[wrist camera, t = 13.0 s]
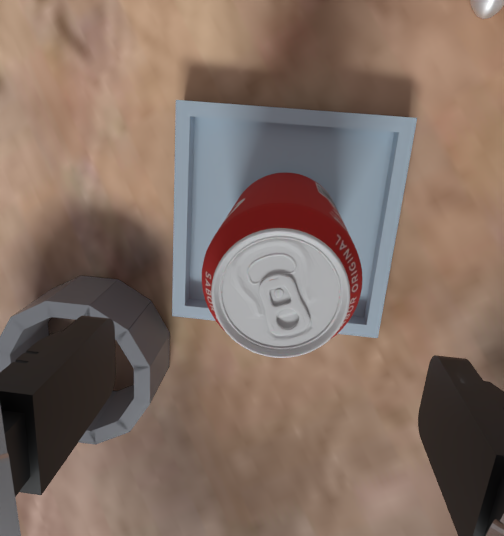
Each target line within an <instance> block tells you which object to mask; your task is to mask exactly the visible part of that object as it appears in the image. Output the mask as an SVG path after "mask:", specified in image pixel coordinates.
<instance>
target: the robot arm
mask: <svg viewBox="0 0 504 536" xmlns="http://www.w3.org/2000/svg"><path fill="white" fill-rule="evenodd" d="M115 376H116V363H115V326H114V322H113V320H112V319H110V318H101V317H92V316H80V317H79V318H78V319H77V320H75V321H74V322H73V323H72V324H71V325H70V326H69V327H67V328H66V329H65V330H64V331H63V332H56V333H54V334H52V335H50V336H47V337H45V338H43V339H40V340H39V341H37V342H36V343H35V344H34V345H33V346H31V347H30V348H29V349H28V350H27V351H26V353H23V354H22V355H21V356H19V357H18V358H17V359H16V361H15V362H12V363H11V364H10V365H8V366H7V367H6V368H5V369H4V370H2V371H1V372H0V536H21V534H20V527H19V520H18V514H17V507H16V500H15V497H16V495H17V494H18V493H19V492H23V493H30V494H37V495H42V493H43V492H44V490H45V489H46V488H47V486H48V485H49V483H50V482H51V480H52V479H53V478H54V476H55V475H56V473H57V472H58V470H59V469H60V468H61V466H62V465H63V463H64V462H65V460H66V459H67V457H68V456H69V455H70V453H71V452H72V450H73V449H74V447H75V446H76V445H77V443H78V442H79V440H80V439H81V437H82V436H83V435H84V433H85V432H86V430H87V429H88V427H89V426H90V425H91V423H92V422H93V420H94V419H95V417H96V416H97V414H98V413H99V412H100V410H101V409H102V407H103V406H104V404H105V403H106V402H107V400H108V399H109V397H110V395H111V393H112V390H113V387H114V383H115ZM418 426H419V434H420V437H421V440H422V443H423V445H424V448H425V451H426V453H427V456H428V458H429V461H430V464H431V466H432V469H433V471H434V474H435V476H436V479H437V482H438V484H439V487H440V489H441V492H442V495H443V497H444V500H445V502H446V505H447V508H448V510H449V513H450V515H451V518H452V521H453V523H454V526H455V528H456V531H457V534H458V536H504V392H503V391H502V390H500V389H499V388H497V387H496V386H495V385H493V384H492V383H491V382H486V381H483V380H482V378H481V377H480V376H479V374H478V373H477V371H476V370H475V369H474V367H473V366H472V364H471V363H470V362H469V361H468V360H467V359H462V358H453V357H444V356H433V357H432V359H431V361H430V364H429V368H428V372H427V377H426V381H425V386H424V391H423V395H422V400H421V404H420V409H419V416H418Z"/></svg>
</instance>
